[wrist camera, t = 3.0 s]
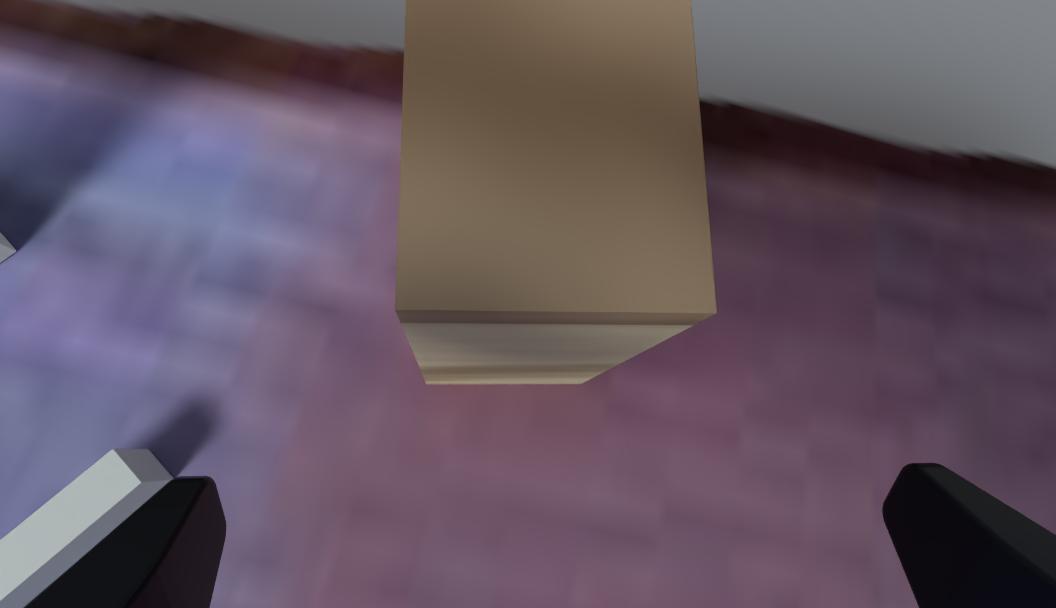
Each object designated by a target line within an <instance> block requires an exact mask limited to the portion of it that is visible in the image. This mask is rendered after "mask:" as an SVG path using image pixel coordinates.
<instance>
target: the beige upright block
mask: <svg viewBox="0 0 1056 608" xmlns="http://www.w3.org/2000/svg"><path fill="white" fill-rule="evenodd" d="M395 310H396V313H397V315H398V317H399V320H400V322H401V325H402V327H403V329H404V332H405V334H406V336H407V339H408V341H409V344H410V346H411V348H412V351H413V353H414V356H415V358H416V360H417V363H418V365H419V367H420V370H421V372H422V375H423V377H424V379H425V382H426V384H582V383H584V382H586V381H588V380H589V379H591V378H593V377H595V376H597V375H599V374H601V373H603V372H605V371H607V370H609V369H611V368H613V367H614V366H616V365H618V364H620V363H622V362H624V361H626V360H628V359H630V358H632V357H634V356H636V355H638V354H639V353H641V352H643V351H645V350H647V349H649V348H651V347H653V346H655V345H657V344H659V343H661V342H663V341H664V340H666V339H668V338H670V337H672V336H674V335H676V334H678V333H680V332H682V331H684V330H686V329H688V328H689V327H691V326H693V325H695V324H697V323H699V322H701V321H703V320H705V319H707V318H709V317H711V316H713V315H714V314H716V313H717V310H716V298H715V286H714V274H713V262H712V250H711V237H710V225H709V213H708V201H707V189H706V177H705V165H704V153H703V141H702V129H701V117H700V105H699V93H698V82H697V70H696V57H695V45H694V32H693V20H692V8H691V0H406V16H405V45H404V73H403V102H402V131H401V159H400V188H399V217H398V245H397V274H396V303H395Z"/></svg>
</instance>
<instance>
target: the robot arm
mask: <svg viewBox="0 0 1056 608" xmlns="http://www.w3.org/2000/svg"><path fill="white" fill-rule="evenodd" d="M882 512H883V519H884V522H885V525H886V527H887V530H888V532H889V535H890V537H891V540H892V542H893V544H894V547H895V549H896V552H897V554H898V557H899V559H900V562H901V564H902V567H903V569H904V572H905V574H906V577H907V579H908V581H909V584H910V586H911V589H912V591H913V594H914V596H915V599H916V601H917V604H918V606H919V608H1056V535H1055V534H1053V533H1051V532H1050V531H1048V530H1047V529H1045V528H1043V527H1042V526H1040V525H1038V524H1037V523H1035V522H1034V521H1032V520H1030V519H1029V518H1027V517H1025V516H1024V515H1022V514H1021V513H1019V512H1017V511H1016V510H1014V509H1012V508H1011V507H1009V506H1008V505H1006V504H1004V503H1003V502H1001V501H1000V500H998V499H996V498H995V497H993V496H991V495H990V494H988V493H987V492H985V491H983V490H982V489H980V488H978V487H977V486H975V485H974V484H972V483H970V482H969V481H967V480H965V479H964V478H962V477H961V476H959V475H957V474H956V473H954V472H953V471H951V470H949V469H948V468H946V467H944V466H942V465H940V464H936V463H911V464H907V465H906V466H904V467H903V468H902V470H901V471H900V473H899V475H898V477H897V478H896V480H895V482H894V484H893V486H892V488H891V489H890V491H889V493H888V495H887V497H886V499H885V500H884V503H883V508H882ZM225 537H226V520H225V516H224V512H223V509H222V505H221V502H220V498H219V494H218V491H217V487H216V484H215V482H214V480H213V479H212V478H211V477H208V476H181V477H176V478H174V479H172V480H170V481H169V482H168V483H167V484H165V485H164V486H163V487H162V488H161V489H160V490H158V491H157V492H156V493H155V494H154V495H153V496H152V497H150V498H149V499H148V500H147V501H146V502H145V503H144V504H142V505H141V506H140V507H139V508H138V509H137V510H135V511H134V512H133V513H132V514H131V515H130V516H129V517H127V518H126V519H125V520H124V521H123V522H122V523H120V524H119V525H118V526H117V527H116V528H115V529H114V530H112V531H111V532H110V533H109V534H108V535H107V536H105V537H104V538H103V539H102V540H101V541H100V542H99V543H97V544H96V545H95V546H94V547H93V548H92V549H91V550H89V551H88V552H87V553H86V554H85V555H84V556H82V557H81V558H80V559H79V560H78V561H77V562H76V563H74V564H73V565H72V566H71V567H70V568H69V569H67V570H66V571H65V572H64V573H63V574H62V575H61V576H59V577H58V578H57V579H56V580H55V581H54V582H52V583H51V584H50V585H49V586H48V587H47V588H46V589H44V590H43V591H42V592H41V593H40V594H39V595H38V596H36V597H35V598H34V599H33V600H32V601H31V602H29V603H28V604H27V605H26V606H25V607H24V608H209V607H210V603H211V599H212V594H213V590H214V586H215V581H216V577H217V573H218V568H219V564H220V560H221V555H222V551H223V547H224V542H225Z"/></svg>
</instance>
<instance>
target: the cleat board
mask: <svg viewBox="0 0 1056 608" xmlns="http://www.w3.org/2000/svg"><path fill="white" fill-rule="evenodd" d="M15 252H17V251H16V250H15V249H14V247H13V246H12V245H11V244H10V243H9V242H8V240H7V239H6V238H5V237H4V236H3V235H2V233H1V232H0V263H1V262H2V261H4V260H5V259H7V258H8V257H10V256H11V255H12V254H14V253H15ZM172 479H174V478H173V477H172V476H171V475H170V474H169V473H168V471H167V470H166V469H165V468H164V467H163V466H162V464H161V463H160V462H159V461H158V460H157V459H156V457H155V456H154V455H153V454H152V453H151V452H150V450H149V449H112V450H111V451H110V452H108V453H107V454H106V455H105V456H103V457H102V458H101V459H100V460H98V461H97V462H96V463H95V464H94V465H92V466H91V467H90V468H89V469H87V470H86V471H85V472H84V473H82V474H81V475H80V476H79V477H78V478H76V479H75V480H74V481H73V482H71V483H70V484H69V485H68V486H66V487H65V488H64V489H63V490H62V491H60V492H59V493H58V494H57V495H55V496H54V497H53V498H52V499H50V500H49V501H48V502H47V503H46V504H44V505H43V506H42V507H41V508H39V509H38V510H37V511H36V512H34V513H33V514H32V515H31V516H30V517H28V518H27V519H26V520H25V521H23V522H22V523H21V524H20V525H18V526H17V527H16V528H15V529H14V530H12V531H11V532H10V533H9V534H7V535H6V536H5V537H4V538H2V539H1V540H0V608H23V607H24V606H25V605H26V604H27V603H29V602H30V601H31V600H32V599H33V598H35V597H36V596H37V595H38V594H39V593H40V592H42V591H43V590H44V589H45V588H46V587H48V586H49V585H50V584H51V583H52V582H53V581H55V580H56V579H57V578H58V577H59V576H61V575H62V574H63V573H64V572H65V571H66V570H67V569H69V568H70V567H71V566H72V565H73V564H74V563H76V562H77V561H78V560H79V559H80V558H81V557H82V556H84V555H85V554H86V553H87V552H88V551H89V550H91V549H92V548H93V547H94V546H95V545H96V544H97V543H99V542H100V541H101V540H102V539H103V538H104V537H105V536H107V535H108V534H109V533H110V532H111V531H112V530H114V529H115V528H116V527H117V526H118V525H119V524H120V523H122V522H123V521H124V520H125V519H126V518H127V517H129V516H130V515H131V514H132V513H133V512H134V511H135V510H137V509H138V508H139V507H140V506H141V505H142V504H144V503H145V502H146V501H147V500H148V499H149V498H150V497H152V496H153V495H154V494H155V493H156V492H157V491H158V490H160V489H161V488H162V487H163V486H164V485H165V484H167V483H168V482H169V481H170V480H172Z"/></svg>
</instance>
